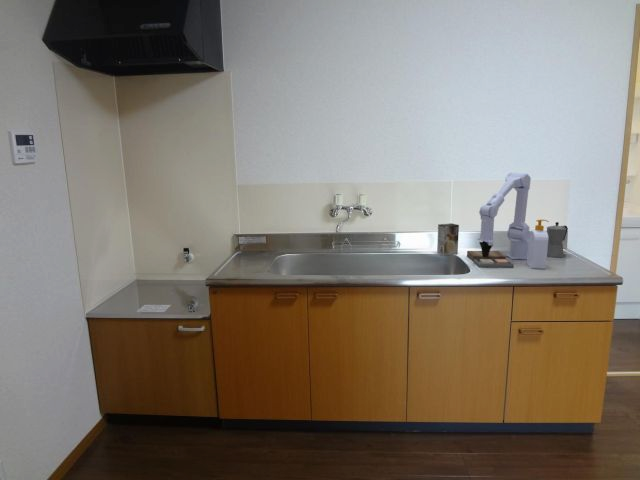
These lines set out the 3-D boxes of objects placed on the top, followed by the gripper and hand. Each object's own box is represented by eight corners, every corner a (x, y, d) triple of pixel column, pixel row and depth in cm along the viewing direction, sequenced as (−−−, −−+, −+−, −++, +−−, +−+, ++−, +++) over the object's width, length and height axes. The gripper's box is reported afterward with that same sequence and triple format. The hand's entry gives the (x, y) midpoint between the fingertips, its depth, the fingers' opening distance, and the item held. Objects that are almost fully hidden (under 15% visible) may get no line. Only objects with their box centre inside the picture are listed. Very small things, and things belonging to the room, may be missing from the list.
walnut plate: (497, 256, 243) (498, 250, 243) (505, 262, 231) (506, 256, 231) (466, 256, 244) (467, 250, 243) (473, 262, 232) (473, 256, 232)
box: (506, 262, 231) (506, 259, 230) (513, 267, 221) (513, 264, 220) (473, 262, 231) (473, 258, 231) (479, 267, 222) (479, 264, 221)
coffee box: (450, 251, 255) (451, 223, 252) (457, 254, 249) (459, 224, 246) (436, 253, 251) (437, 224, 248) (443, 255, 246) (445, 226, 242)
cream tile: (493, 261, 222) (493, 265, 223) (490, 259, 227) (489, 263, 228) (482, 261, 223) (482, 265, 223) (479, 259, 227) (479, 262, 228)
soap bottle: (547, 269, 218) (552, 221, 214) (531, 268, 219) (536, 221, 215) (541, 264, 227) (545, 218, 222) (526, 263, 228) (530, 218, 223)
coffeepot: (553, 259, 237) (557, 224, 233) (537, 255, 245) (540, 221, 242) (572, 255, 244) (576, 222, 240) (556, 252, 252) (559, 219, 249)
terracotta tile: (508, 261, 222) (508, 265, 222) (504, 259, 227) (504, 263, 227) (497, 261, 222) (497, 265, 223) (494, 259, 227) (494, 263, 227)
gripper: (474, 227, 232) (472, 253, 235) (483, 232, 218) (481, 260, 220) (488, 227, 231) (487, 253, 234) (498, 232, 217) (496, 260, 220)
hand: (485, 256), depth 227 cm, fingers closed
